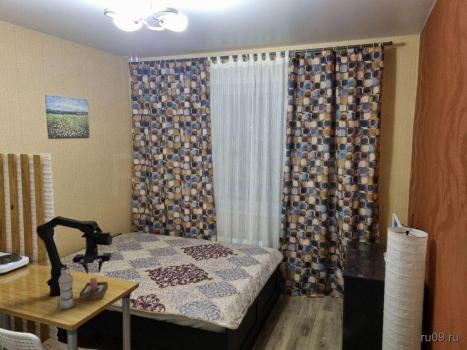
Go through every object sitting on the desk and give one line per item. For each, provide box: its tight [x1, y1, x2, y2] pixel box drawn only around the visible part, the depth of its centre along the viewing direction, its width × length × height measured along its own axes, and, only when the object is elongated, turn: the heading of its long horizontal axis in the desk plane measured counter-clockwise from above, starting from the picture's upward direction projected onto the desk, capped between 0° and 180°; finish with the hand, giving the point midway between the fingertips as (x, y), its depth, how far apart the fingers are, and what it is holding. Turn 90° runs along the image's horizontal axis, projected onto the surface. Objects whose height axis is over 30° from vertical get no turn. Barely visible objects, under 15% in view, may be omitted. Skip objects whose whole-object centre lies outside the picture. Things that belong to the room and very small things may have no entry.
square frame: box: [79, 281, 109, 301], centre depth 183 cm, size 11×13×4 cm
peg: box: [89, 276, 98, 292], centre depth 183 cm, size 3×3×9 cm
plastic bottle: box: [58, 267, 75, 310], centre depth 168 cm, size 6×7×20 cm
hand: (93, 273), depth 182 cm, fingers open, 6 cm apart
